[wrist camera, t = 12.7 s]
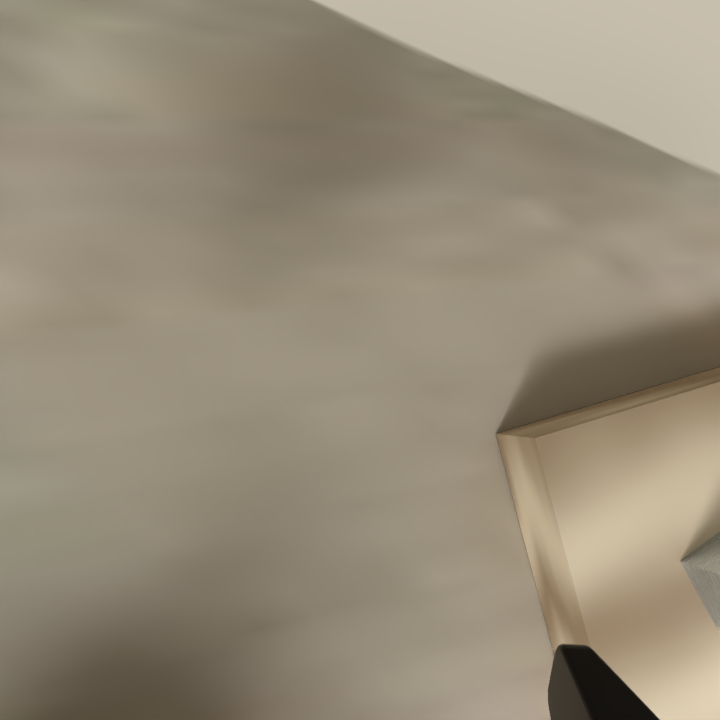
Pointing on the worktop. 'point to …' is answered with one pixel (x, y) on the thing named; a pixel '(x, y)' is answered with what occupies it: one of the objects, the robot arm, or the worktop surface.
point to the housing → (706, 575)
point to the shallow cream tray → (627, 534)
